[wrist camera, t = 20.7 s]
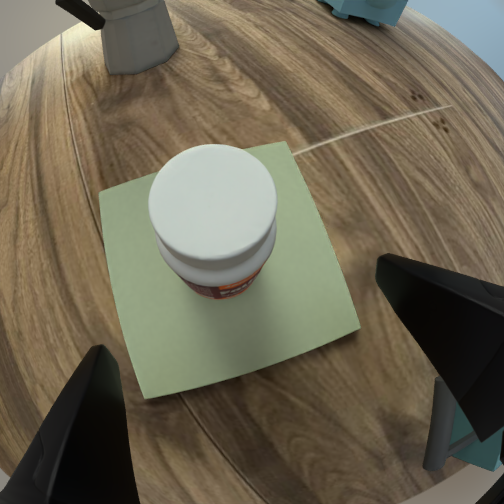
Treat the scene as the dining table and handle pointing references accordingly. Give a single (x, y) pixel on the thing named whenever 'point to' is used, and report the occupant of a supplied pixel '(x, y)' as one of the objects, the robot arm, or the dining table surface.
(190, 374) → the mat
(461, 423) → the drawer
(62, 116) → the dining table surface
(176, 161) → the pill bottle
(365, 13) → the teapot
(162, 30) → the coffee maker
